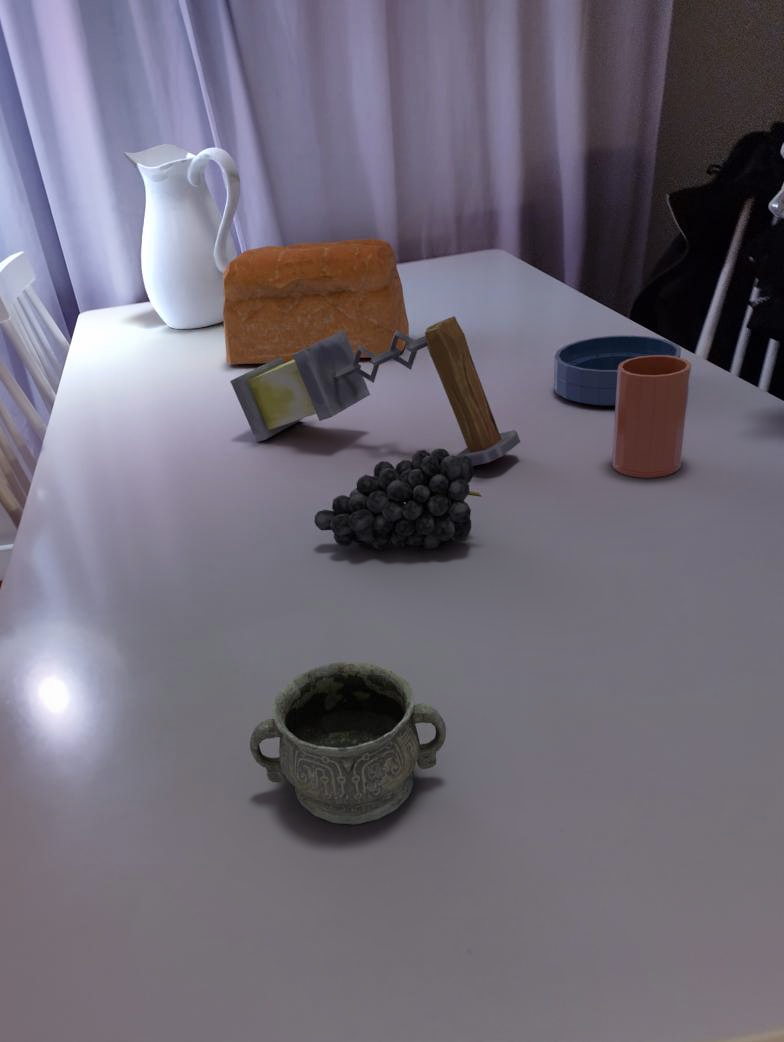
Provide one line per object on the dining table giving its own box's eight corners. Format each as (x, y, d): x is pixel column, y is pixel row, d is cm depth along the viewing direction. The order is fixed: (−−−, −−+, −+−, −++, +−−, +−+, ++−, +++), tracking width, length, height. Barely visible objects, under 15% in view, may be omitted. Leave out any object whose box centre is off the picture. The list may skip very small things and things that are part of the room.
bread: (246, 343, 151) (231, 243, 143) (412, 333, 144) (406, 227, 136) (221, 370, 140) (203, 263, 132) (400, 360, 133) (392, 247, 125)
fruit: (301, 463, 80) (480, 446, 78) (314, 457, 88) (476, 442, 86) (311, 563, 82) (485, 549, 80) (323, 548, 90) (482, 536, 88)
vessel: (439, 729, 62) (435, 651, 59) (458, 822, 55) (454, 738, 52) (260, 747, 63) (246, 670, 60) (255, 841, 56) (238, 759, 52)
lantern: (287, 513, 115) (493, 462, 94) (230, 380, 110) (433, 295, 89) (324, 488, 120) (528, 435, 98) (271, 361, 115) (473, 275, 93)
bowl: (659, 366, 118) (662, 330, 116) (692, 403, 106) (696, 363, 104) (545, 378, 119) (546, 342, 117) (565, 415, 108) (566, 376, 105)
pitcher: (133, 328, 169) (97, 155, 154) (207, 304, 177) (180, 139, 163) (214, 344, 153) (182, 153, 138) (291, 317, 162) (269, 135, 147)
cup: (670, 450, 96) (679, 352, 91) (688, 474, 91) (699, 372, 85) (606, 456, 97) (611, 359, 91) (620, 480, 91) (627, 379, 86)
